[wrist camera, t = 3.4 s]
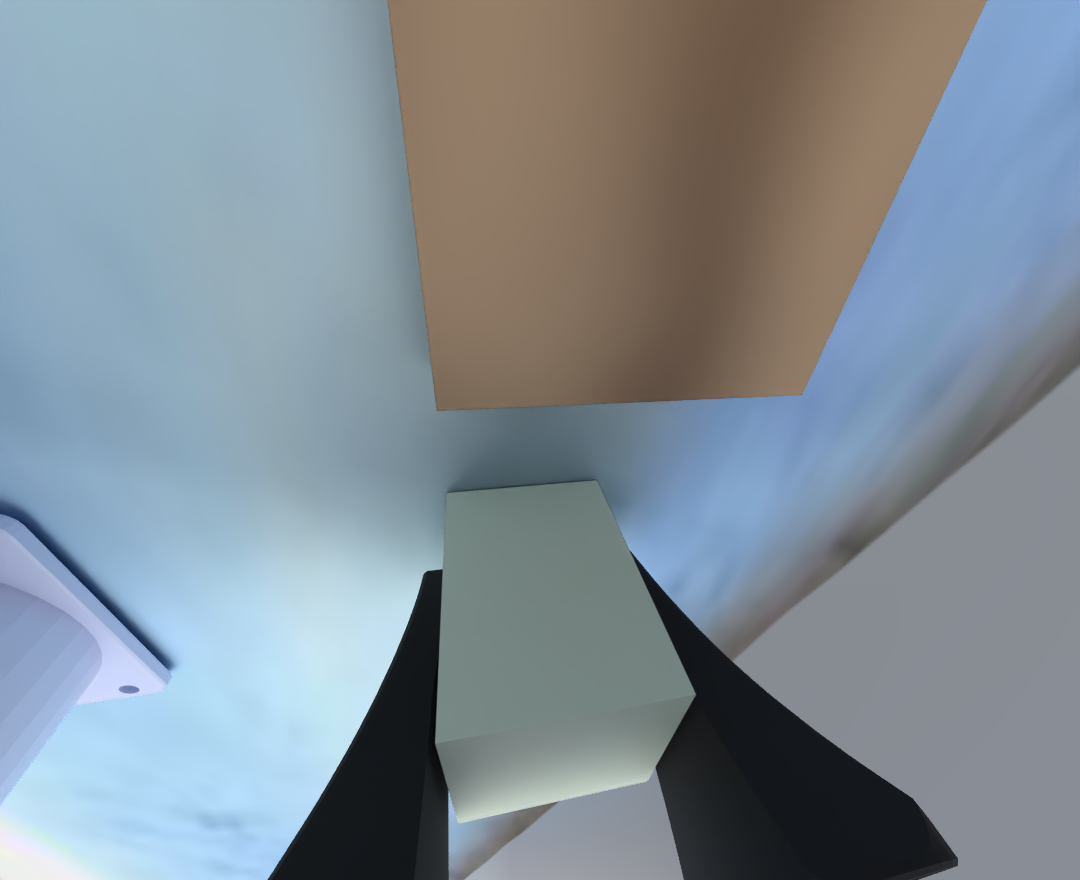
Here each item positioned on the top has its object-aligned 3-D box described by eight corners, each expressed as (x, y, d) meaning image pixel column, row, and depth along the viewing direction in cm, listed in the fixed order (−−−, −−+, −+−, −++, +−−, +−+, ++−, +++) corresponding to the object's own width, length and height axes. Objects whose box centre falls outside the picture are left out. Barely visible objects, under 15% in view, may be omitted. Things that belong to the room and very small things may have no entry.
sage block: (458, 589, 13) (458, 823, 9) (446, 492, 11) (435, 743, 6) (582, 574, 14) (647, 781, 9) (597, 480, 12) (696, 694, 7)
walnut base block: (442, 360, 9) (436, 410, 7) (381, -226, 5) (324, -515, 3) (736, 354, 11) (801, 395, 9) (897, -114, 6) (1108, -259, 4)
